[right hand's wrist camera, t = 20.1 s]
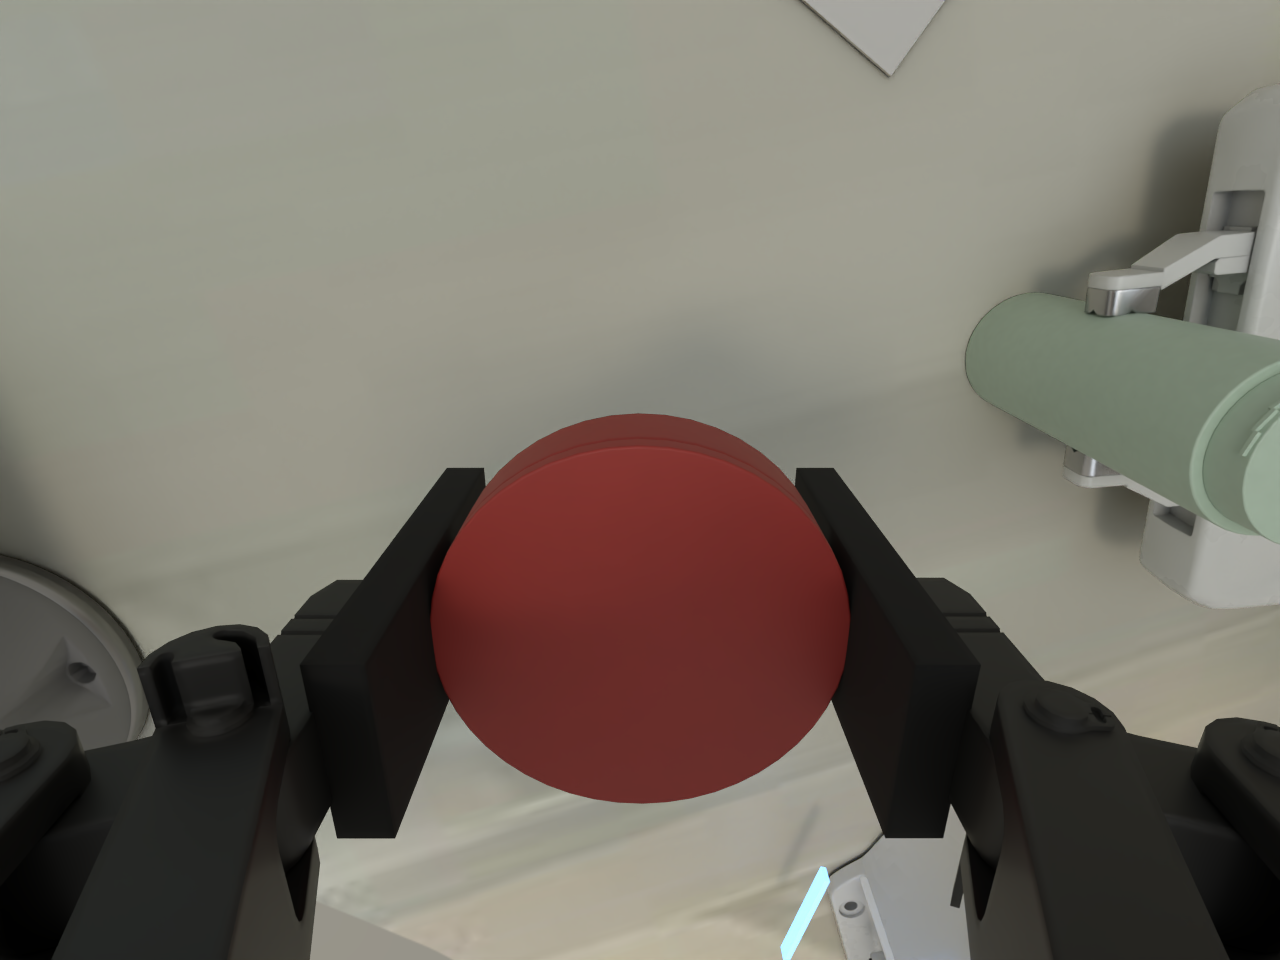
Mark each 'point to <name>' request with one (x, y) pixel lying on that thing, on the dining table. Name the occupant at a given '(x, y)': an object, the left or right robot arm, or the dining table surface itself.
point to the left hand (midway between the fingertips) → (1082, 385)
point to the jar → (1144, 400)
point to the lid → (640, 611)
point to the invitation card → (878, 25)
